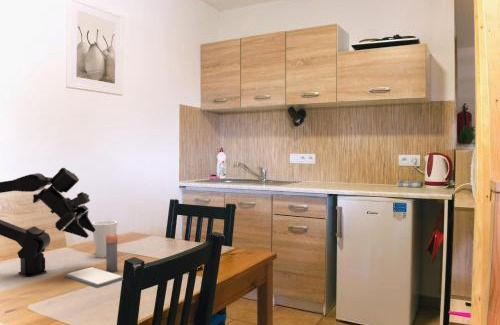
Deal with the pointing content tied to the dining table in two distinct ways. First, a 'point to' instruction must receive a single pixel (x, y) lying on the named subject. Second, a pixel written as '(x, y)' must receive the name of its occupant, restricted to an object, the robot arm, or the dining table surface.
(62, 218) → the robot arm
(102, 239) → the foam cup
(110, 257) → the cylinder
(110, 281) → the notebook
